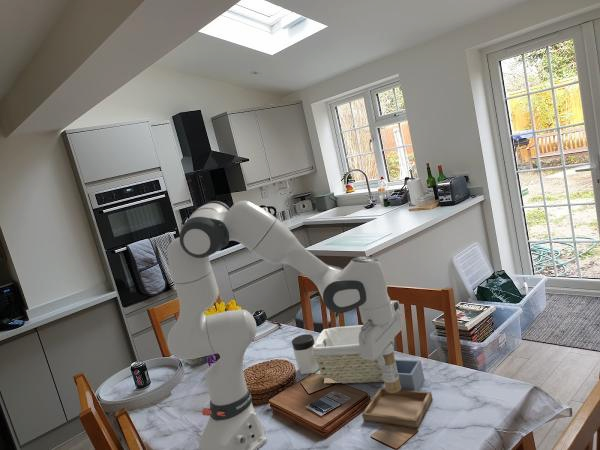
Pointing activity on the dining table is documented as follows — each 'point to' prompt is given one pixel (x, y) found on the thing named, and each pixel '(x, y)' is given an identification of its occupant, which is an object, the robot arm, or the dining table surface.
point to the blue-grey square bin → (410, 374)
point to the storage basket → (344, 357)
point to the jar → (305, 354)
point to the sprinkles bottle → (390, 371)
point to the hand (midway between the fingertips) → (386, 359)
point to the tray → (398, 408)
